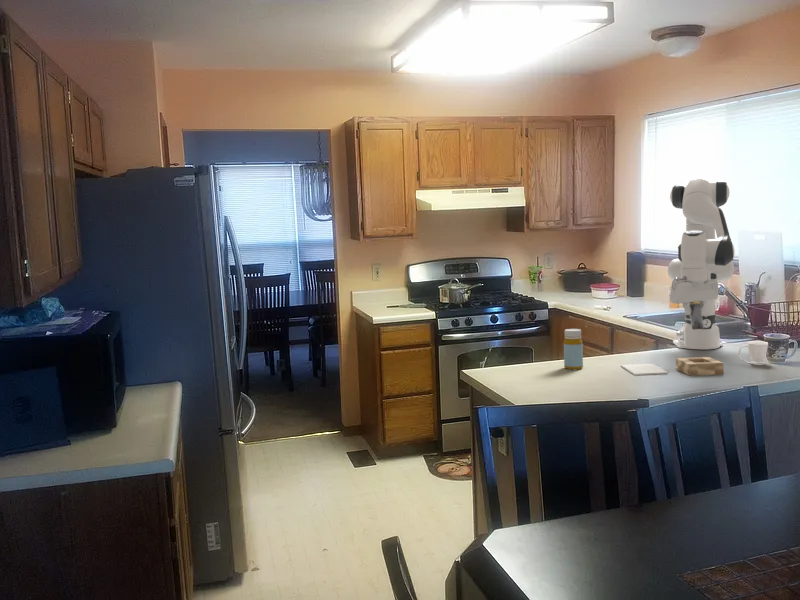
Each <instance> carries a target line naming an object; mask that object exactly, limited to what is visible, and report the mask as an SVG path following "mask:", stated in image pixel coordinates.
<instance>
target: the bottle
mask: <svg viewBox="0 0 800 600" xmlns="http://www.w3.org/2000/svg"><path fill="white" fill-rule="evenodd" d="M583 346H584V345H583V340H582V329H581V328H566V329H564V341H563V364H564V365H563V366H564V368H565V369H566V368H567V369H566V370H569V369H578V370H582V369H583V367H584V353H583V350H584V349H583Z"/></svg>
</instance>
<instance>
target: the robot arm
mask: <svg viewBox="0 0 800 600" xmlns="http://www.w3.org/2000/svg"><path fill="white" fill-rule="evenodd" d="M671 188H672V189H671V191H670V197H669V199H670V202H671V205H672V206H673V207H674V208H676V209H682V213H683V216H684V217H685V218H686V219H685V220H686V222H685V223H686V224H685V230H686V231H684V232H683V233H682V236H681V242H680V244H679V245H678V246H677V249H678V250H677V251H678V252H677V254H678V255H677V256H678V257H677V258H675V259H674V258H673V259H672V260H671V261H670V262H669V264H668V266H667V275H668V277H669V279H671V281H672V282H671V286H670V292H669V293H670V294H669V301H670V303H671V304H677V305H678V304H679V305H680V304H682V307H683V309H684V313H685V316H684V323H683V324H682V326H681V327H680V329H678V331H676V333H675V334H676V337H678V338H677V339H674V340H672V343H673V344H674V345H675V346H676V347H677V348H678V349H690V350H716V349H719V348H720V346H721V347H723V346H724V344H723V343H722V342H721V339H720V337H721V336H720V328H719V326H717V324H716V322H717V316H716V313H715V312H716V308H715V303H716V301H715V300H717V299H718V297H719V282H724V281H728V280H730V279H731V278H732V276H733V275H734V272H735V265H734V263H733V260H734V258H735V247H734V243H733V242H732V239H731V236H730V232H729V229H728V228H729V227H728V223H727V219H726V217H725V213H724V212H723V210H722V208H720V207H722V206H724V205H725V204H726V203H727V202H728V200H729V197H730V187H729V185H728V183H727V182H726V180H719V179H717V180H708V179H707V178H703V177H695V178H692V179H690V180H689V181H687V182H684V183H683V182H680V183H677V184H675V185H674V186H672V187H671ZM696 301H700V307H701V313H702V318H703V324H704V328H702V329H695V330H692V326H691V320H690V315H691V314H692V310H690V308H689V305H690V302H696Z"/></svg>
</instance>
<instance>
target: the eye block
mask: <svg viewBox="0 0 800 600" xmlns="http://www.w3.org/2000/svg"><path fill="white" fill-rule="evenodd" d="M675 365H676V366H675V369H676V370H678V371H679V372H682V373H684V374H686V375H688V376H690V377H691V376H710V375H711V376H712V375H713V376H714V375H716V376H717V375H724V362H722V361H719V360H717V359H715V358H712V357H710V356H700V357H699V356H696V357H694V356H693V357H692V356H691V357H677V358H676V357H675Z"/></svg>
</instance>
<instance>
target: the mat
mask: <svg viewBox="0 0 800 600" xmlns="http://www.w3.org/2000/svg"><path fill="white" fill-rule="evenodd" d="M620 367H621V368H623V369H624V370H626V371H627V372H629V373H630V374H632V375H633V376H651V375H652V376H653V375H655V374H657V375H668V374H669V372H668V371H666V370H665V369H663V368H661V367H659V366H657V365H656V364H654V363H640V364H639V363H638V364H637V363H635V364H634V363H633V364H621V365H620Z"/></svg>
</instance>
